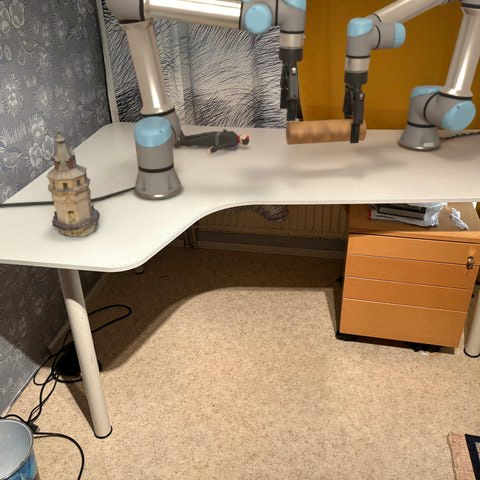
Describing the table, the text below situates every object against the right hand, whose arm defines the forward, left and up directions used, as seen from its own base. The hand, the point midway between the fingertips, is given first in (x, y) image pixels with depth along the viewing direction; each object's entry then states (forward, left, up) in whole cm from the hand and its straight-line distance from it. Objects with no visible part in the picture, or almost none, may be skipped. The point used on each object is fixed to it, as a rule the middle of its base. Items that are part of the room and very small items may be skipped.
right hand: (350, 138), depth 184 cm
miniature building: (+90, -26, -13) cm, 95 cm away
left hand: (+19, -13, +10) cm, 24 cm away
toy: (+18, -54, -13) cm, 58 cm away
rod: (+7, -5, -1) cm, 9 cm away
